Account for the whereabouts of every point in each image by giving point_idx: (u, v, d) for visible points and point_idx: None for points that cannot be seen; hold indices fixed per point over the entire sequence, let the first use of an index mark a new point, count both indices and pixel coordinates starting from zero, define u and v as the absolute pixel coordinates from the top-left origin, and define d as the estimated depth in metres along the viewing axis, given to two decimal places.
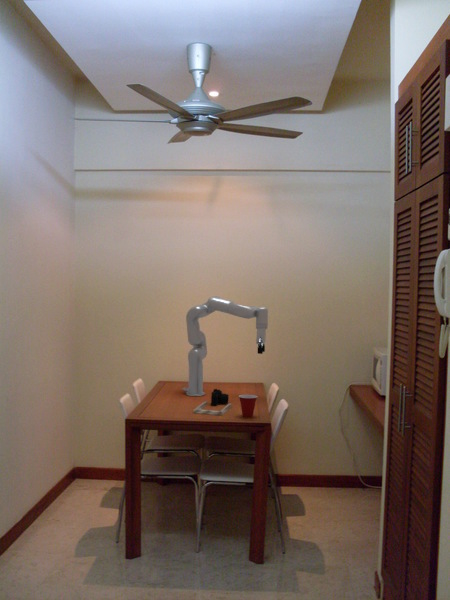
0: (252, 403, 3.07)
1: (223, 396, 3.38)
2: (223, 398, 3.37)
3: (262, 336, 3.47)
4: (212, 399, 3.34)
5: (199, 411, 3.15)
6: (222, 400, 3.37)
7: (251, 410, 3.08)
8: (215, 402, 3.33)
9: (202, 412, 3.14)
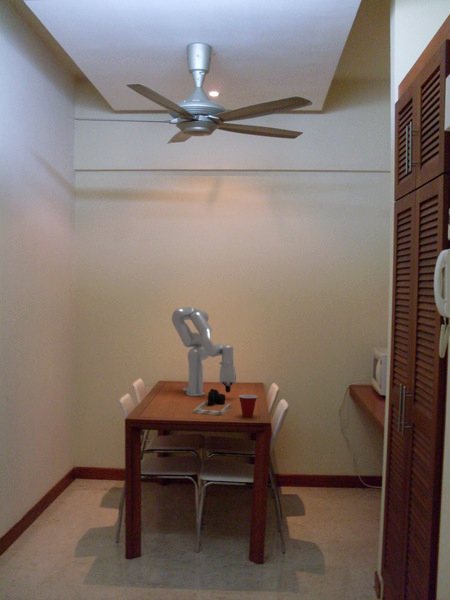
0: (252, 403, 3.07)
1: (220, 396, 3.38)
2: (220, 398, 3.37)
3: (235, 373, 3.54)
4: (209, 399, 3.34)
5: (199, 411, 3.15)
6: (219, 400, 3.37)
7: (251, 410, 3.08)
8: (212, 402, 3.34)
9: (202, 412, 3.14)
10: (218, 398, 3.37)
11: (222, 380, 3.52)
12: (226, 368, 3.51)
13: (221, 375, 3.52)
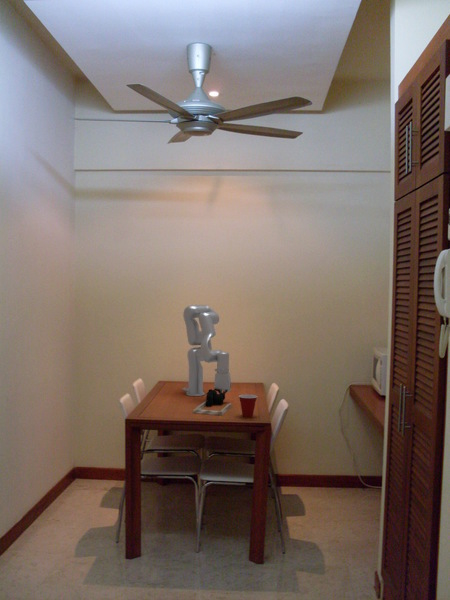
0: (252, 403, 3.07)
1: (218, 396, 3.36)
2: (218, 398, 3.35)
3: (230, 380, 3.44)
4: (207, 399, 3.32)
5: (199, 411, 3.15)
6: (217, 400, 3.35)
7: (251, 410, 3.08)
8: (210, 402, 3.31)
9: (202, 412, 3.14)
10: (216, 398, 3.35)
11: (217, 387, 3.42)
12: (221, 375, 3.41)
13: (216, 382, 3.42)
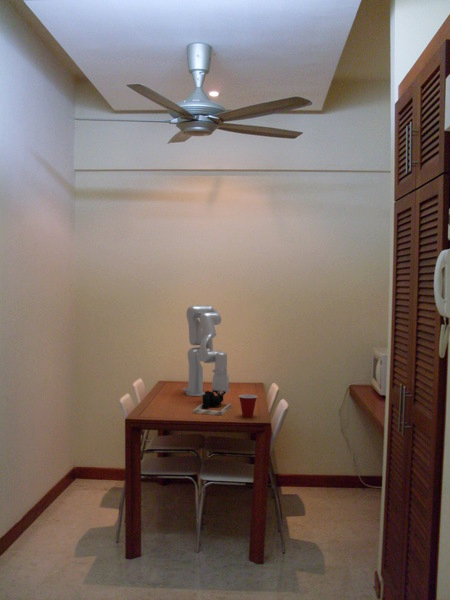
0: (252, 403, 3.07)
1: (215, 398, 3.30)
2: (215, 400, 3.29)
3: (228, 382, 3.37)
4: (203, 401, 3.26)
5: (199, 411, 3.15)
6: (214, 402, 3.29)
7: (251, 410, 3.08)
8: (206, 404, 3.26)
9: (202, 412, 3.14)
10: (213, 400, 3.29)
11: (215, 389, 3.35)
12: (219, 376, 3.35)
13: (214, 383, 3.35)
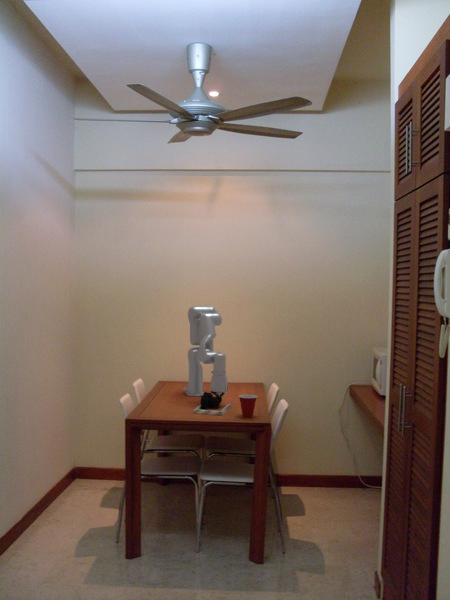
0: (252, 403, 3.07)
1: (213, 399, 3.26)
2: (213, 401, 3.26)
3: (227, 383, 3.34)
4: (201, 403, 3.23)
5: (199, 411, 3.15)
6: (212, 403, 3.26)
7: (251, 410, 3.08)
8: (205, 406, 3.22)
9: (202, 412, 3.14)
10: (212, 401, 3.26)
11: (213, 390, 3.32)
12: (218, 377, 3.31)
13: (212, 384, 3.32)
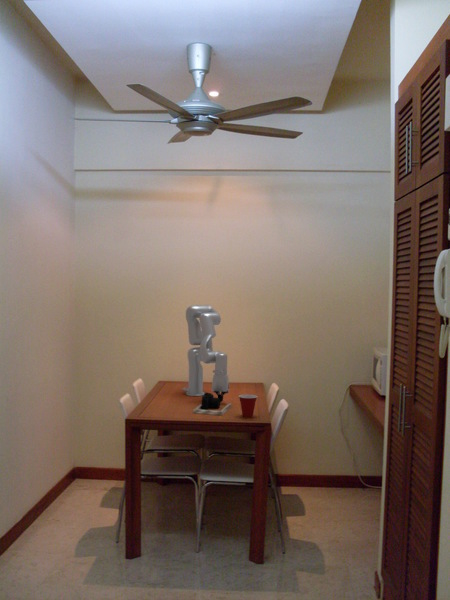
0: (252, 403, 3.07)
1: (214, 400, 3.26)
2: (214, 402, 3.26)
3: (228, 382, 3.40)
4: (202, 403, 3.23)
5: (199, 411, 3.15)
6: (213, 404, 3.26)
7: (251, 410, 3.08)
8: (205, 406, 3.22)
9: (202, 412, 3.14)
10: (212, 402, 3.26)
11: (214, 389, 3.38)
12: (219, 377, 3.37)
13: (214, 384, 3.38)
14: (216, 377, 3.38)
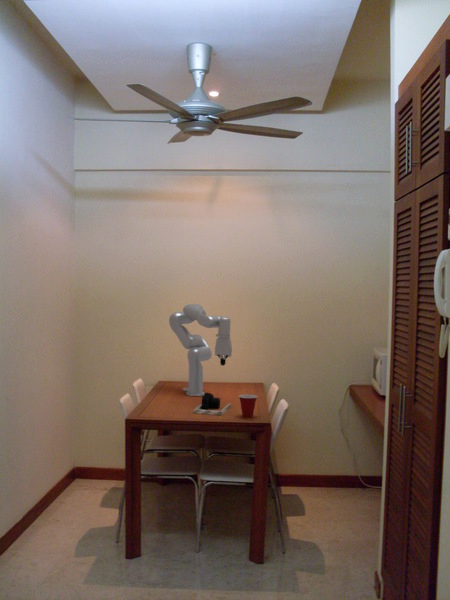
0: (252, 403, 3.07)
1: (214, 400, 3.26)
2: (214, 402, 3.26)
3: (231, 346, 3.46)
4: (202, 403, 3.22)
5: (199, 411, 3.15)
6: (213, 404, 3.26)
7: (251, 410, 3.08)
8: (205, 406, 3.22)
9: (202, 412, 3.14)
10: (212, 402, 3.26)
11: (217, 352, 3.45)
12: (222, 340, 3.44)
13: (217, 347, 3.45)
14: (219, 341, 3.44)
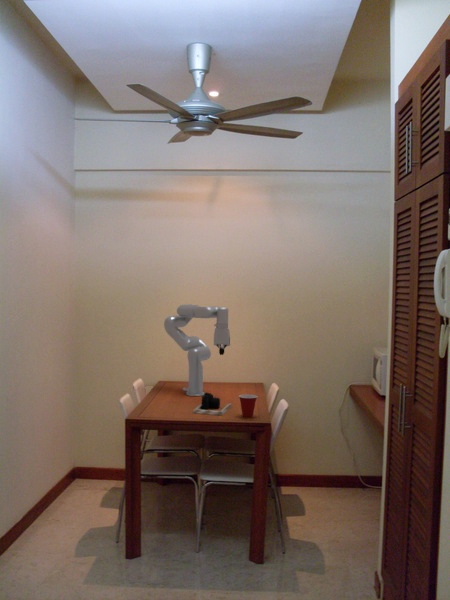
0: (252, 403, 3.07)
1: (214, 400, 3.26)
2: (214, 402, 3.26)
3: (229, 335, 3.51)
4: (202, 403, 3.22)
5: (199, 411, 3.15)
6: (213, 404, 3.26)
7: (251, 410, 3.08)
8: (205, 406, 3.22)
9: (202, 412, 3.14)
10: (212, 402, 3.26)
11: (216, 342, 3.49)
12: (220, 330, 3.48)
13: (215, 337, 3.49)
14: (218, 330, 3.48)
